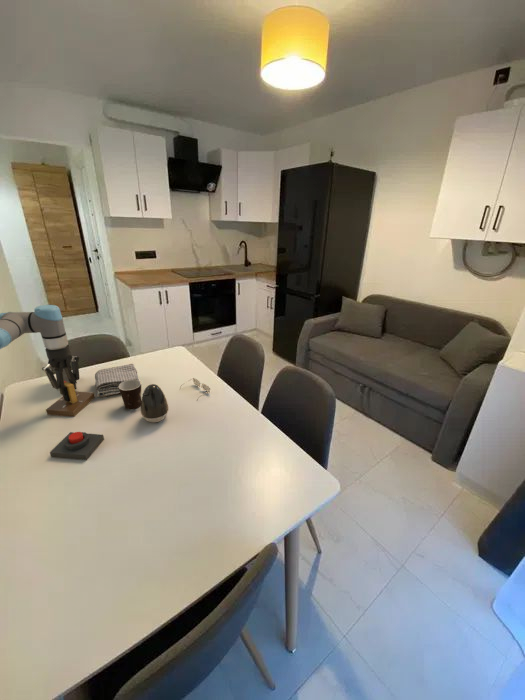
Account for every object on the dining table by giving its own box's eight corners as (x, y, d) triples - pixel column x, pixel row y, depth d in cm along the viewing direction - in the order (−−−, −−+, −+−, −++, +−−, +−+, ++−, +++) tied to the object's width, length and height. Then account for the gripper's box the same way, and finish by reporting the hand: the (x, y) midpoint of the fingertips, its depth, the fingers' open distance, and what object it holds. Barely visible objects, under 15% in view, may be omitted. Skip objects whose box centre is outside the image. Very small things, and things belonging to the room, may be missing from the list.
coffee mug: (130, 398, 127) (127, 378, 123) (148, 401, 126) (145, 381, 122) (112, 413, 117) (108, 392, 113) (131, 417, 115) (128, 395, 111)
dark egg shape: (136, 423, 112) (130, 389, 106) (152, 408, 121) (148, 376, 115) (159, 428, 110) (155, 394, 104) (174, 413, 119) (171, 381, 113)
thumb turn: (77, 401, 119) (73, 383, 116) (73, 403, 118) (68, 386, 114) (69, 397, 121) (64, 380, 118) (64, 399, 120) (59, 382, 116)
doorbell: (51, 457, 94) (48, 448, 93) (71, 436, 104) (69, 427, 102) (87, 460, 94) (84, 450, 92) (104, 439, 103) (102, 430, 101)
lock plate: (74, 416, 114) (72, 411, 113) (47, 414, 114) (45, 409, 113) (95, 397, 127) (94, 392, 126) (70, 395, 127) (69, 390, 126)
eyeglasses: (211, 394, 133) (210, 387, 131) (197, 402, 128) (196, 395, 126) (193, 383, 141) (192, 376, 139) (179, 390, 136) (177, 383, 134)
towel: (96, 383, 137) (93, 368, 134) (137, 375, 146) (135, 361, 143) (98, 399, 125) (94, 383, 122) (142, 389, 134) (140, 374, 131)
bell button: (66, 443, 96) (65, 439, 95) (74, 435, 99) (73, 431, 98) (78, 444, 95) (77, 440, 95) (86, 436, 99) (85, 432, 98)
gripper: (70, 338, 117) (81, 388, 127) (29, 351, 105) (45, 405, 114) (82, 341, 115) (93, 392, 124) (41, 355, 102) (57, 410, 111)
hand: (70, 398), depth 119 cm, fingers closed on thumb turn, 2 cm apart
